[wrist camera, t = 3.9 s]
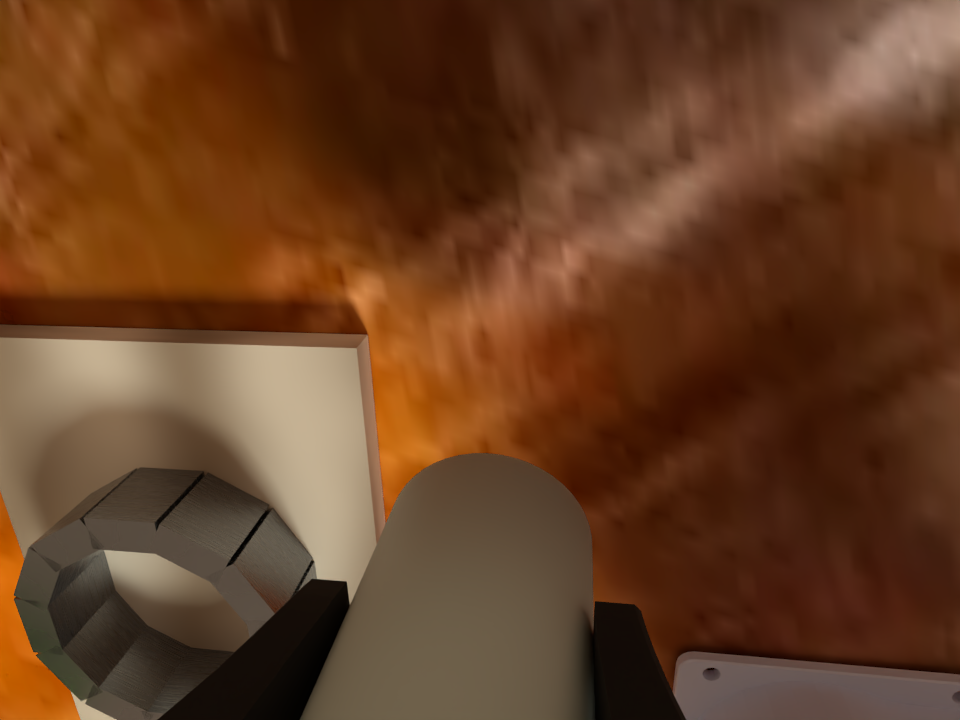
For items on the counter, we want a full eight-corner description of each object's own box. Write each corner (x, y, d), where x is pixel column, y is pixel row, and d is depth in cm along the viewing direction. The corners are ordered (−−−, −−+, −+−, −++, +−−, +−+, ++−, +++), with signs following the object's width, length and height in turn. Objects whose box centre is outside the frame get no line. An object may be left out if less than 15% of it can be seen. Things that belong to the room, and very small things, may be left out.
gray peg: (596, 458, 12) (611, 875, 6) (588, 629, 14) (593, 1105, 7) (382, 448, 13) (183, 817, 6) (396, 613, 14) (247, 1043, 8)
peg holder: (368, 334, 18) (322, 389, 15) (416, 853, 27) (394, 958, 24) (-25, 323, 20) (-140, 371, 17) (138, 815, 29) (81, 909, 25)
